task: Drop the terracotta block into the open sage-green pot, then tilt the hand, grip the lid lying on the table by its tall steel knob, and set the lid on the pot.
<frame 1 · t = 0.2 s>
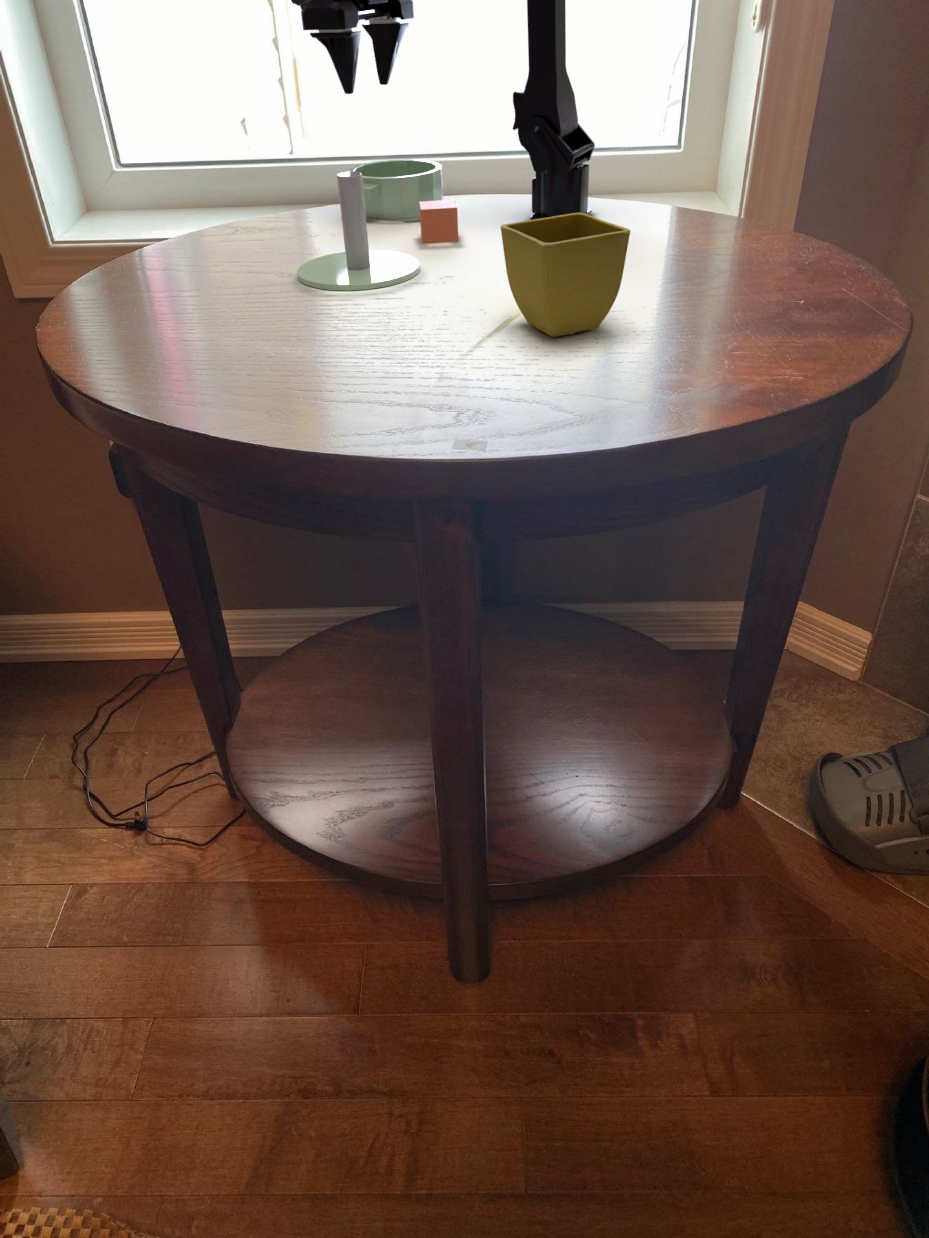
hand: (366, 89, 122), 14 cm above the table, tool pointing down, fingers open, 9 cm apart
flower pot: (561, 329, 86), on the table
lid: (359, 272, 101), point 1 cm above the table
block: (439, 242, 112), on the table
pot: (398, 211, 127), on the table
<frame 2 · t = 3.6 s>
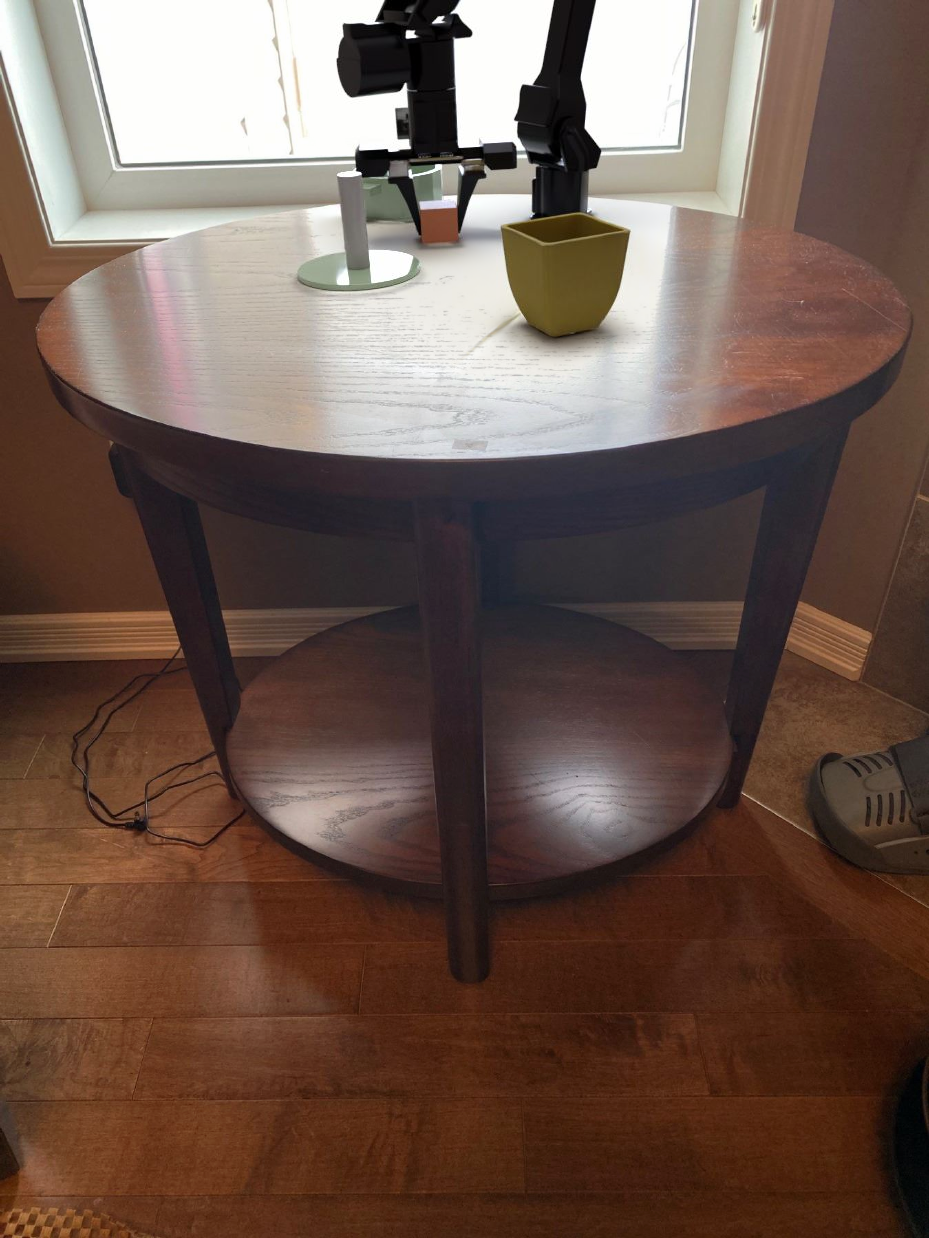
hand: (439, 234, 112), 1 cm above the table, tool pointing down, fingers closed on block, 4 cm apart
block: (439, 242, 112), on the table, touching gripper
everything else where it was.
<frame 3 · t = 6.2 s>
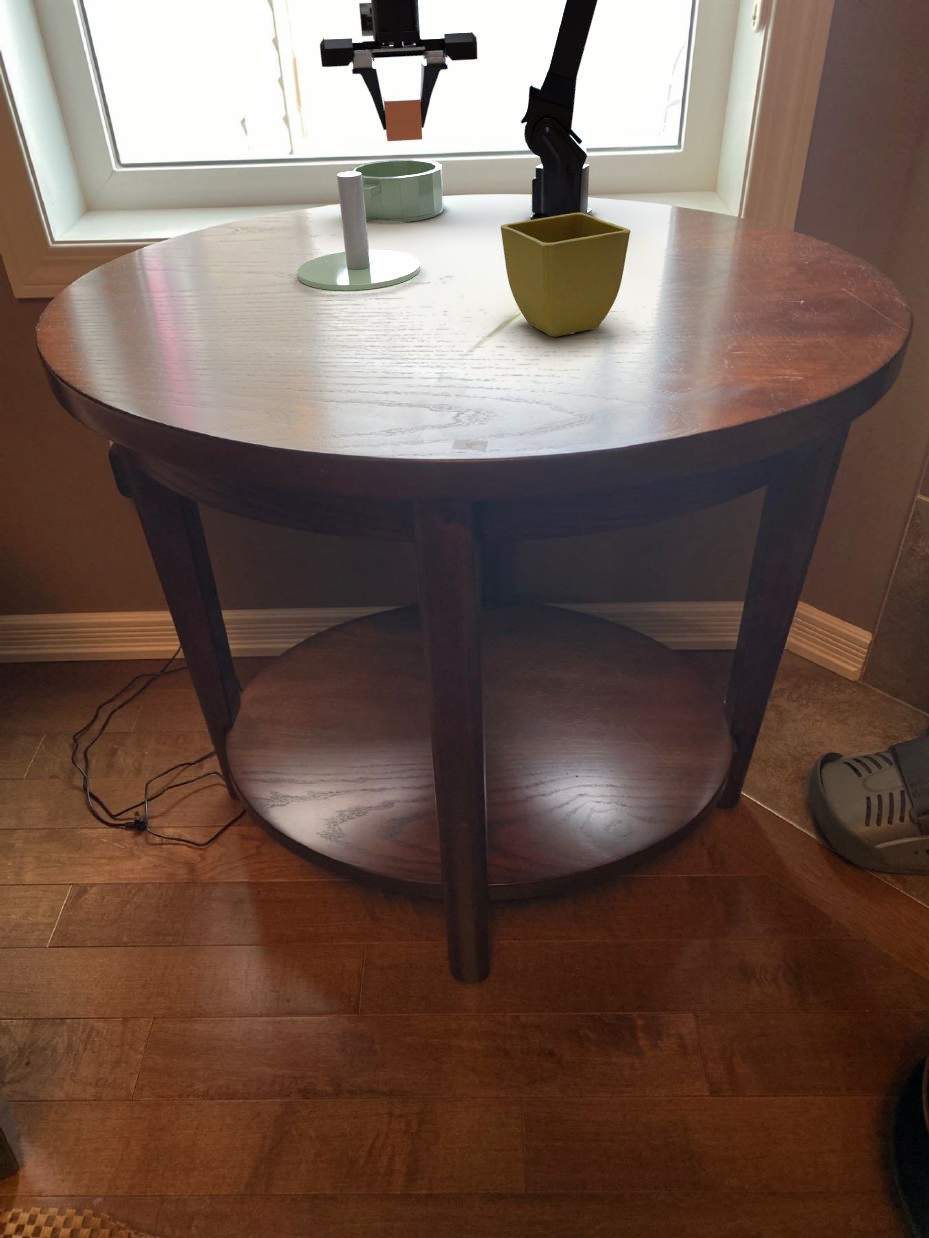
hand: (403, 128, 115), 11 cm above the table, tool pointing down, fingers closed on block, 4 cm apart
block: (404, 137, 116), point 10 cm above the table, touching gripper
everything else where it was.
when the fingers open (5 cm above the table, at t = 8.8 s): block drops 3 cm, resting on pot.
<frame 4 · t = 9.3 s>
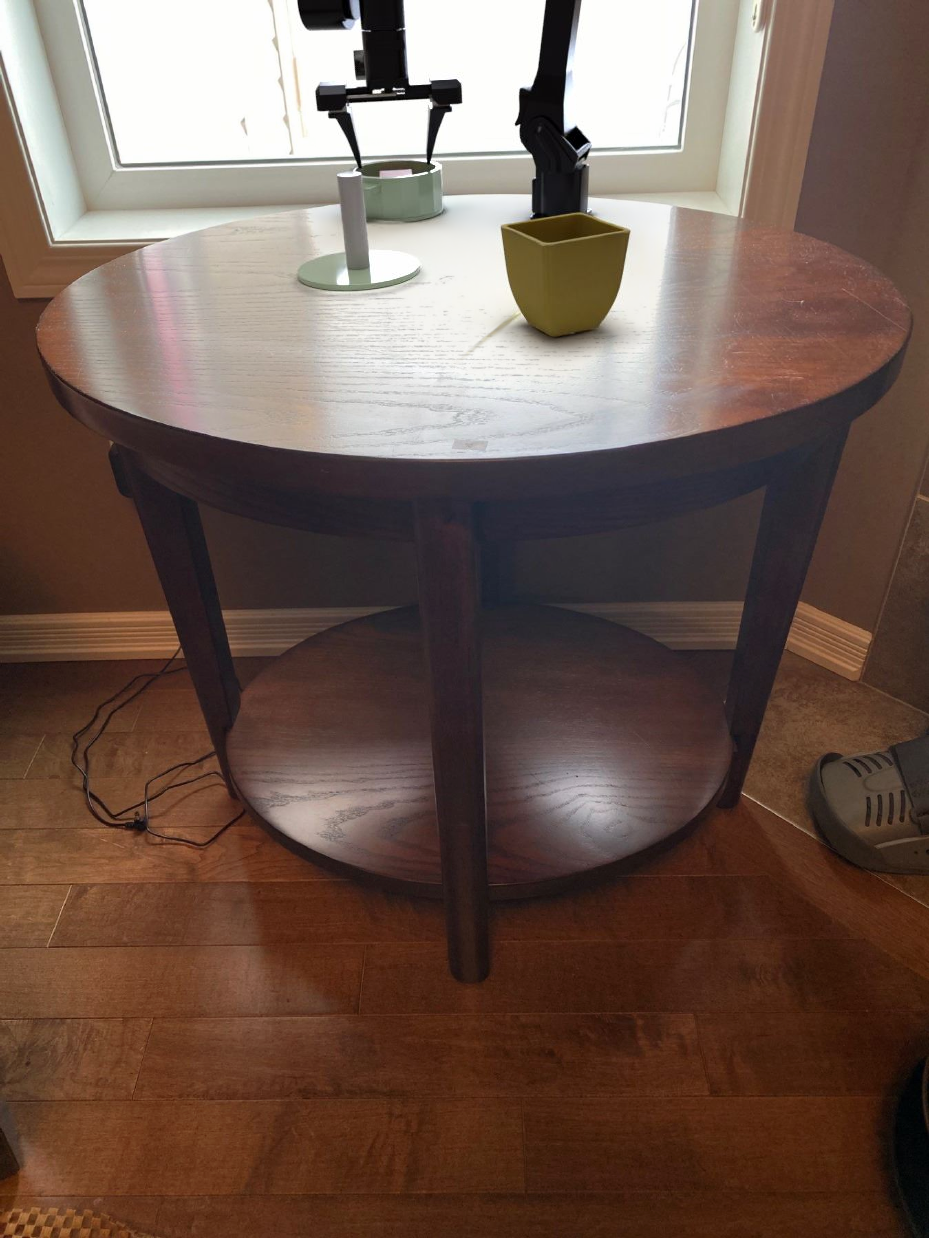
hand: (394, 166, 123), 6 cm above the table, tool pointing down, fingers open, 9 cm apart
block: (398, 208, 126), point 1 cm above the table, touching pot
everything else where it was.
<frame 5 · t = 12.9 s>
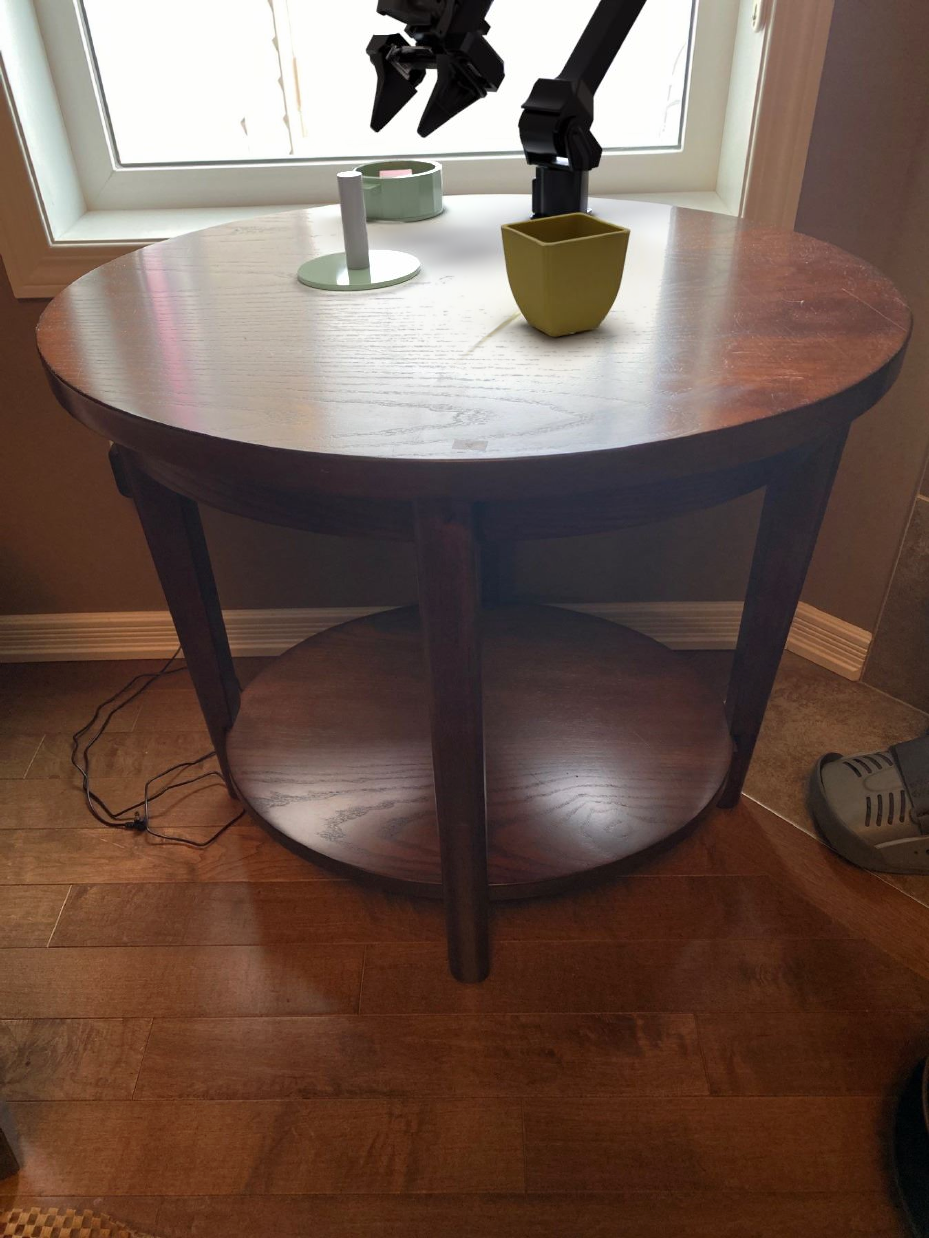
hand: (396, 132, 99), 13 cm above the table, tool tilted 40°, fingers open, 9 cm apart
nothing on the table moved.
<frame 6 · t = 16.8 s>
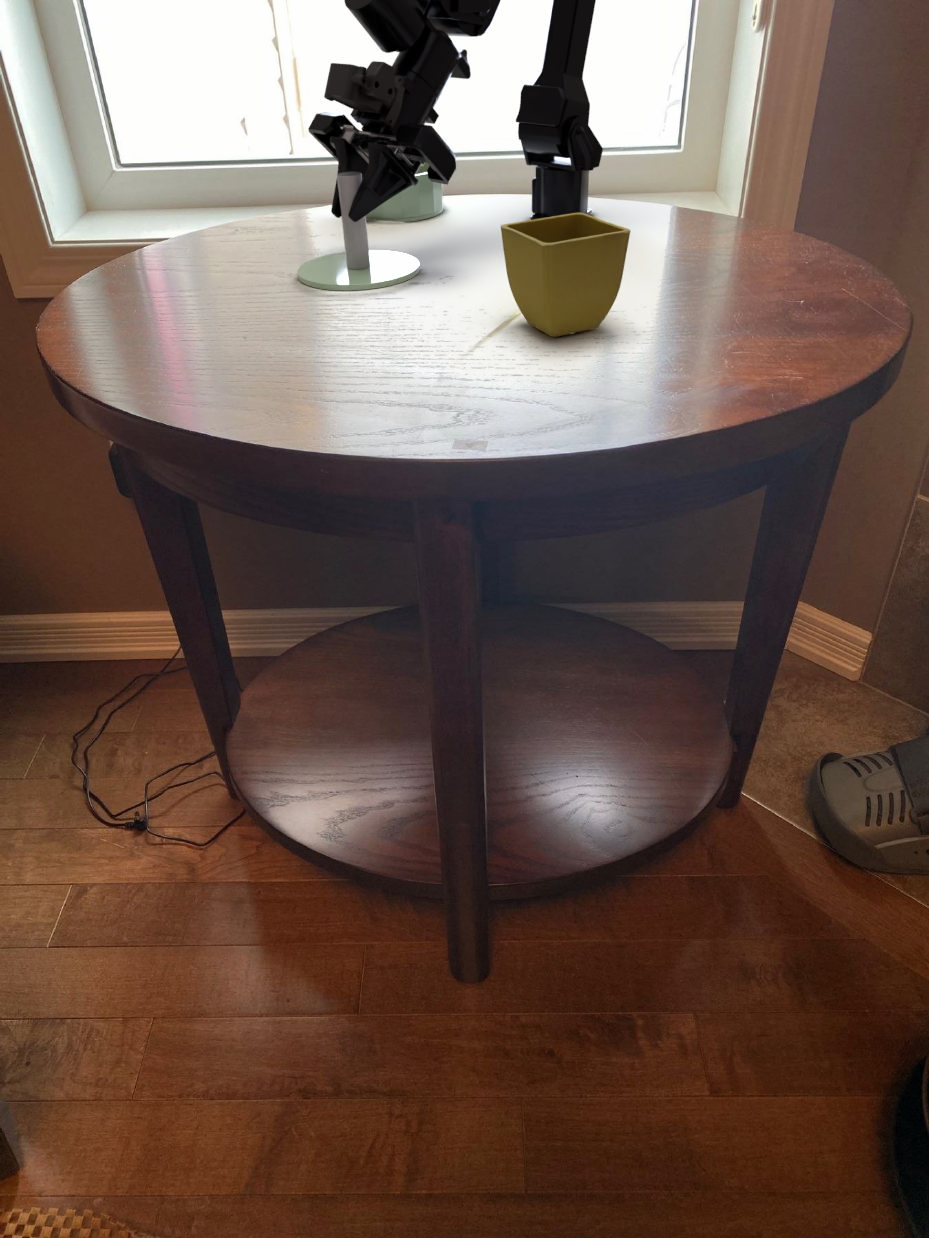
hand: (343, 217, 97), 7 cm above the table, tool tilted 45°, fingers closed on lid, 2 cm apart
lid: (359, 272, 101), point 1 cm above the table, touching gripper
everything else where it was.
when the fingers open (11 cm above the table, at t = 24.5 s): lid stays where it is, resting on block.
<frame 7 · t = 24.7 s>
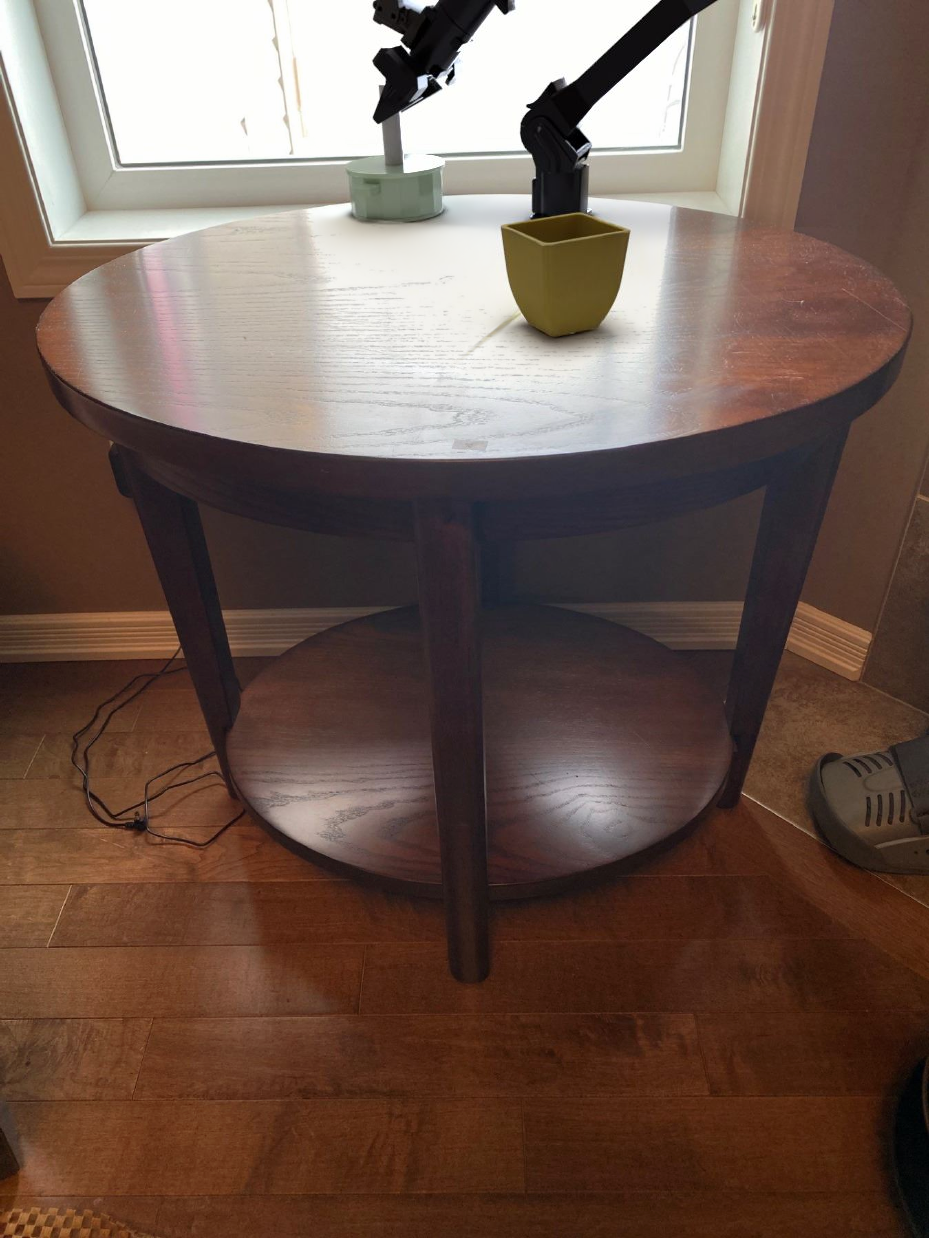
hand: (381, 119, 120), 11 cm above the table, tool tilted 45°, fingers open, 4 cm apart
lid: (394, 168, 123), point 6 cm above the table, touching block
block: (398, 208, 126), point 1 cm above the table, touching lid, pot
everything else where it was.
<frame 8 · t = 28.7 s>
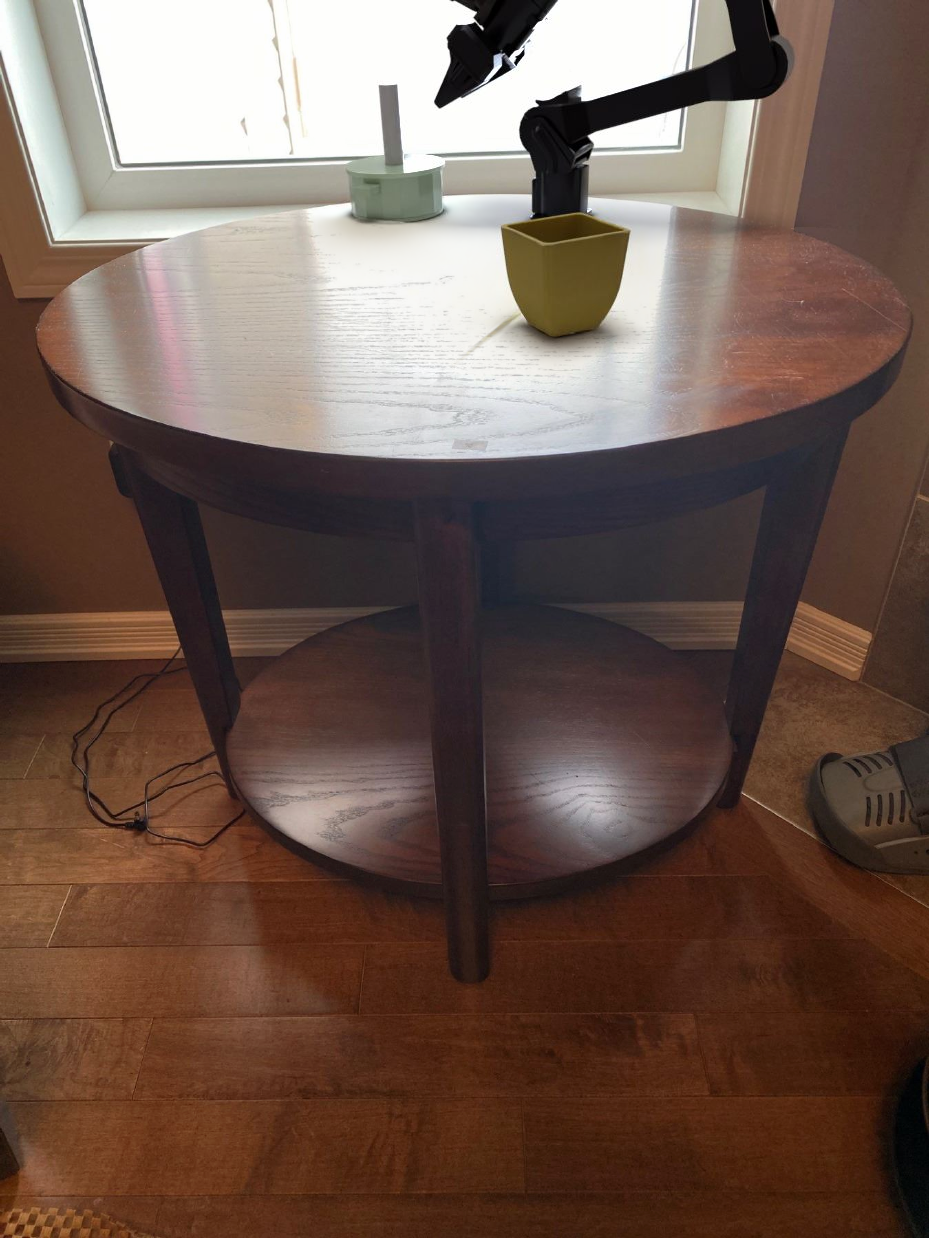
hand: (448, 100, 116), 14 cm above the table, tool tilted 45°, fingers open, 9 cm apart
lid: (394, 168, 123), point 6 cm above the table, touching block, pot
everything else where it was.
at the end: block inside the target area in the pot (0.1 cm from its centre), point 0.5 cm above the pot's base; lid 0.0 cm off-centre on the pot, point 5.5 cm above the pot's base; lid tilted 0° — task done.
